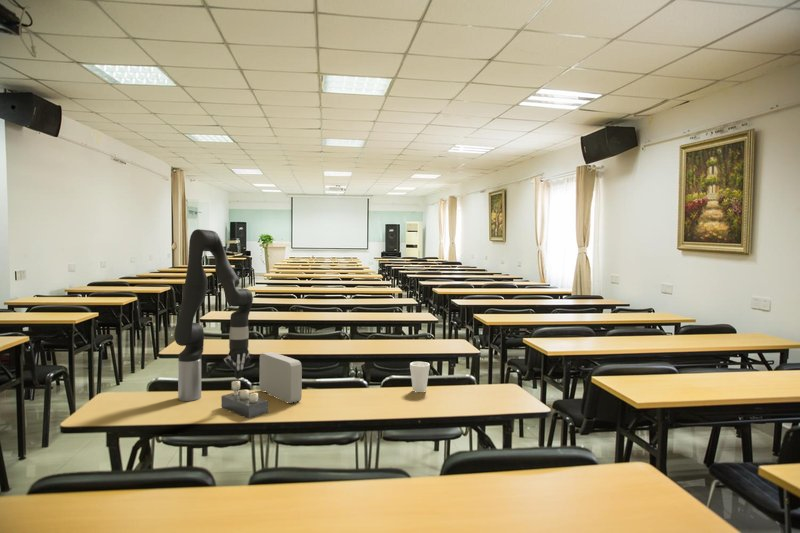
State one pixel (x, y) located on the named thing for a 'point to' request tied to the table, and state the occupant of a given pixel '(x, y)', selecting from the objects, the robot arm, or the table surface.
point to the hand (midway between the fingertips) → (238, 378)
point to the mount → (244, 406)
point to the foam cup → (419, 375)
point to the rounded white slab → (281, 376)
